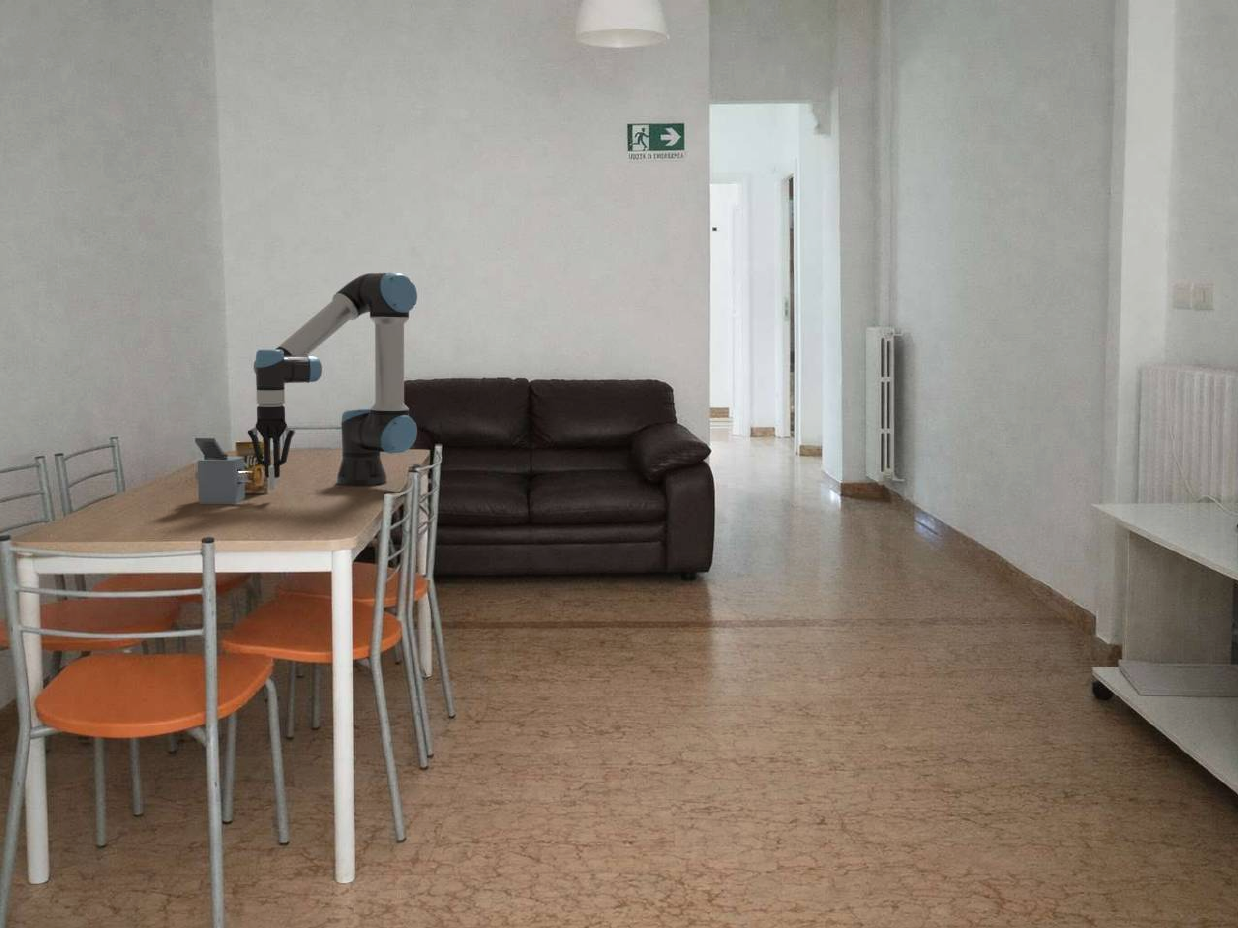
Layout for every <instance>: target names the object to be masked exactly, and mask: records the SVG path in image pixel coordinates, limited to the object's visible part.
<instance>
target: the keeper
mask: <svg viewBox="0 0 1238 928" xmlns="http://www.w3.org/2000/svg"><path fill="white" fill-rule="evenodd" d="M194 443H195V444H196V446H198V449H199V451H201V453H202V454H203V458H204V460H227V459H228V457H229V455H228V453H224V451H223V449H222V448H221V446H220V445H219V443H218V442H217V440H216V439H215V437H195V440H194Z"/></svg>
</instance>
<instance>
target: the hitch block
mask: <svg viewBox="0 0 1238 928" xmlns="http://www.w3.org/2000/svg"><path fill="white" fill-rule="evenodd" d="M197 471H198V482H197V483H198V485H197V486H198V487H197V488H198V504H199V505H205V504H206V505H236V504H239V503H240V502H241V501H244V500H246V493H245V482H238V475H237V471H244V457H236V456H228V459H227V460H204V457H203V458H201V459H198V460H197Z"/></svg>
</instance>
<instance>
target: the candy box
mask: <svg viewBox="0 0 1238 928" xmlns="http://www.w3.org/2000/svg"><path fill="white" fill-rule="evenodd" d="M259 443H260V447H261V451H262V455H263V458H264V442H263V439H262V440H261V439H260V440H259ZM235 457H244V471H253V469H254V467H262V468H263V470H264V483H263V485H262V486H254V485H253V482H245V494H269V478H266V477H265V466H264V465H262V464H258V461H257V458H256V454H255V450H254V447H253V443H252V440H236V441H235Z"/></svg>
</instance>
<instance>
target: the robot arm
mask: <svg viewBox="0 0 1238 928" xmlns="http://www.w3.org/2000/svg"><path fill="white" fill-rule="evenodd" d="M417 292H418V291H417V289H416V285H415V284H414V282H413V281H412V280H411V278H410V277H408V276H407V275H405V274H403V273H401V272H400V273H399V272H393V271H391V272H378V273H374V272H371V273H365V274H361V275H359V276H357V277H355V278H354V279H353V280H351V281H350V282H348V283H347V284H345V285H344V286H343V287H341V288H340V289H339V290H337V292H335V293H334V294H333V296H332V299H331V301H330V302H329V303H328V304H326V306H324V307H323V308H322V309H321V310H320V311H318V312H317V313H316V314H315V315H314V316H313V317H311V318H310V319H309V320H308V321H307V322H306V323H304V324H303V325H302V326H301V327H300V328H298V330H296V331H295V332H294V333H293V334H291V335H290V336H289V337H288V338H287V339H286V340H284V341H283V342H282V343H281V344H280V345H278V346H277V347H276V348H274V349H258V350H257V352H256V354H255V360H254V363H253V371H254V372H253V373H255V378H256V379H255V380H256V381H255V384H256V404H257V405H258V406H257V407H256V423H255V427H253V428H252V429H249V430H247V435H248V436H249V437H250V440H251V441H252V443H253V447H254V450H255V454H256V458H257V461H258V464H262V465H264V466H265V477H266V478H268V491H274V490H277V479H278V478H280V473H281V471H280V470H281V465H284V464H287V461H288V458H289V457H288V456H289V452H290V447H291V443H292V439H293V437H294V435H295V434H296V430H294V429H292V428H290V427H288V424H287V421H286V407H285V406H284V404H285V403H286V400H285V396H286V395H285V385H286V384H290V383H291V384H296V383H299V384H300V383H307V384H309V383H313V382H314V383H315V382H318V381H319V380H320V378H321V377H322V373H323V366H322V362H321V360H320V359H319V357H317V356H314V355H310V354H311V353H313V352H314V351H315V350H316V349H317V348H319V346H321V345H322V344H324V342H325V341H327V339H329V338H330V337H331V336H333V334H335V333H336V332H337V331H338V330H340V329H341V328H342V326H344V325H346V323H347V322H349V321H355V320H356V319H357V318H358V317H360V316H361V315H364V314H366V313H369V318H370V320H371V321H373V323H374V334H375V335H374V336H375V337H374V340H375V341H374V342H375V343H374V345H375V346H374V347H375V349H374V354H375V355H374V359H375V360H374V361H375V363H374V364H375V369H374V371H375V372H374V375H375V377H374V378H375V380H374V382H375V383H374V385H375V388H374V389H375V391H374V392H375V399H374V400H375V403H373V405H372V406H371V407H370V408H361V409H351V410H345V411H344V412H343V413H342V415H341V423H340V425H341V447H342V448H341V450H342V451H341V453H342V454H341V455H342V459H341V463H340V465H339V469H338V472H337V476H336V484H338V485H341V486H378V485H382V484H386V483H387V474H386V471H385V467H384V464H383V461H382V458H381V453H387V454H390V455H391V454H402V453H405V452H407V451H408V450H409V449H410V448H411V447H412V446H413V445H414V443H415V441H416V439H417V434H418V427H417V424H416V422H415V420H414V419H413V418H412V417H411V416H410V407H408V406H407V405H406V404H405V324H406V322H408V320H410V312H411V311H412V310H413V309H414V306H415V305H416V304H417V300H418V293H417ZM284 433H285V438H284V443H283V446H282V452H280V451H281V449H280V447H281V446H280V443H281V442H280V441H281V437H282V435H283V434H284ZM258 434H260V436H261V437H262V438H263V439H262V440H263V442H264V458H263V455H262V451H261V447H260V443H259V441H260V440H259V437H258ZM271 440H272V449H273V450H272V451H273V452H272V454H273V457H272V455H271ZM271 457H272V458H273V464H272V462H271V461H272V459H271Z"/></svg>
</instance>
